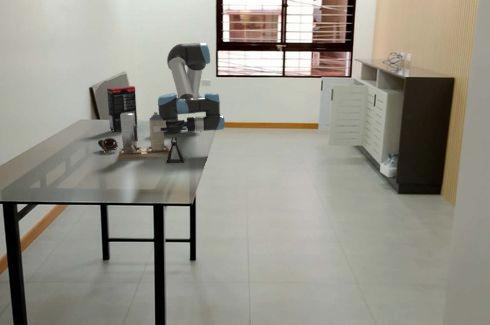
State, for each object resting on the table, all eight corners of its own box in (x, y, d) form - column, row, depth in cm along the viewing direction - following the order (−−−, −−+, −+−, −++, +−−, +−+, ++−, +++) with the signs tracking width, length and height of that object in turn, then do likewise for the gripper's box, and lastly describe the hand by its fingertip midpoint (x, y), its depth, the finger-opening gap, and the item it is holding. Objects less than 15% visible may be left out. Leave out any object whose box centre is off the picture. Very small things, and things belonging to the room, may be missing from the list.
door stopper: (185, 159, 264) (183, 136, 261) (184, 162, 258) (183, 139, 255) (167, 160, 263) (165, 136, 260) (166, 163, 258) (164, 139, 254)
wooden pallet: (119, 155, 275) (118, 148, 274) (169, 151, 280) (168, 145, 279) (118, 160, 265) (118, 153, 264) (170, 156, 269) (170, 150, 268)
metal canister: (123, 151, 273) (120, 113, 268) (138, 150, 274) (135, 112, 269) (123, 154, 266) (119, 115, 261) (138, 153, 268) (135, 114, 262)
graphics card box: (133, 126, 346) (129, 85, 339) (138, 128, 341) (135, 86, 334) (109, 130, 335) (105, 88, 328) (115, 132, 330) (111, 89, 323)
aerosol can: (165, 148, 276) (162, 110, 271) (164, 151, 270) (162, 113, 264) (151, 148, 276) (149, 111, 270) (150, 152, 269) (148, 113, 264)
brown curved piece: (122, 149, 289) (120, 138, 283) (113, 161, 282) (112, 150, 276) (102, 143, 290) (100, 132, 285) (93, 154, 284) (91, 143, 278)
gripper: (197, 136, 262) (154, 139, 258) (193, 126, 286) (153, 129, 282) (196, 121, 260) (153, 124, 256) (192, 112, 283) (152, 115, 280)
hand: (153, 126), depth 269 cm, fingers open, 13 cm apart
